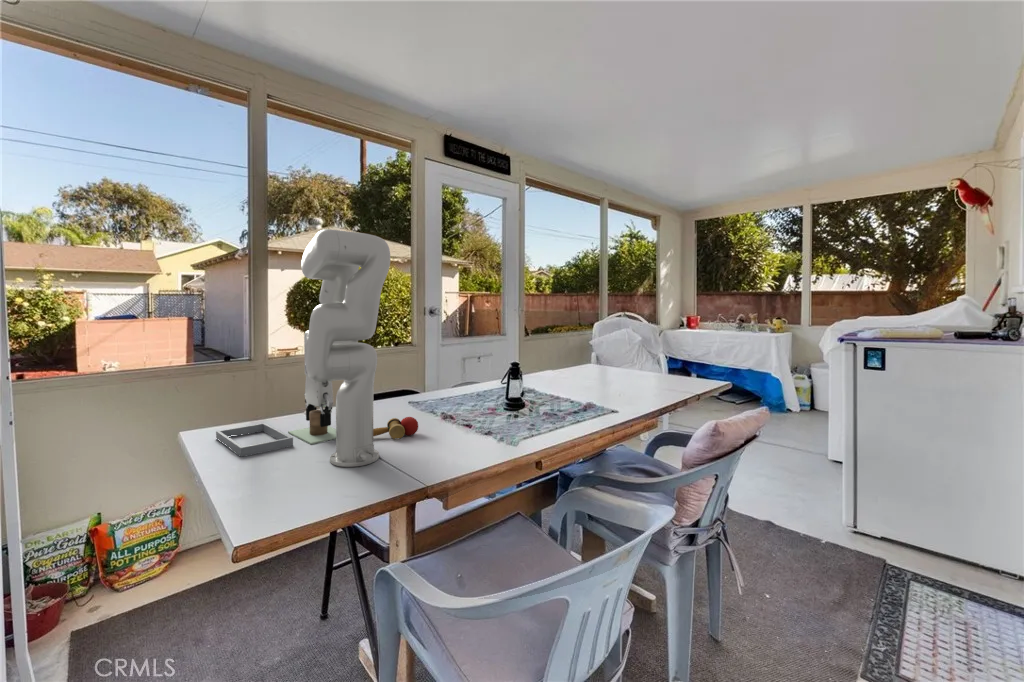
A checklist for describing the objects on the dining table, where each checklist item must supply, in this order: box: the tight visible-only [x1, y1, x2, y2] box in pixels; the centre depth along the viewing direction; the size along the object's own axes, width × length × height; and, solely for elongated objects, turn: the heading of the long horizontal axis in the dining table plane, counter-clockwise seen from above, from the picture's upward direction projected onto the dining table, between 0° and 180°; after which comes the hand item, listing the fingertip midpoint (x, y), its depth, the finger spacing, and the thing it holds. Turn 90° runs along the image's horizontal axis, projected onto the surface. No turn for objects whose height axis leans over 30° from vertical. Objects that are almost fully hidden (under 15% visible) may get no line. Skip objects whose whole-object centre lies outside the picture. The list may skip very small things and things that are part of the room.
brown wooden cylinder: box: [309, 409, 328, 436], centre depth 141 cm, size 5×5×7 cm
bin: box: [215, 422, 294, 457], centre depth 132 cm, size 22×14×2 cm, turn 48°
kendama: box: [373, 416, 419, 440], centre depth 141 cm, size 8×6×18 cm
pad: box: [287, 425, 336, 445], centre depth 142 cm, size 16×12×1 cm
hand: (318, 422), depth 141 cm, fingers open, 9 cm apart
